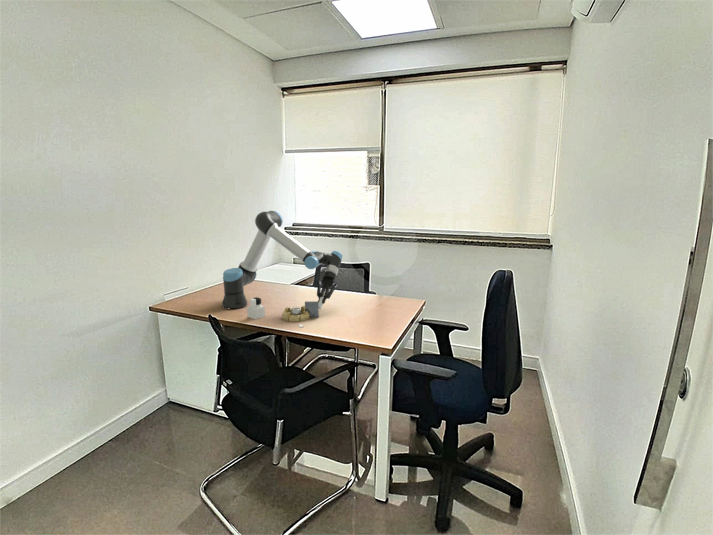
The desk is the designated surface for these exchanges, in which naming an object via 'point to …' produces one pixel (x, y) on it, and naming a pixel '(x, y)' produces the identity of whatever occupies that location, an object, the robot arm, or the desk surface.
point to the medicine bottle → (255, 308)
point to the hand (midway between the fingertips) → (319, 308)
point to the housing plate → (296, 311)
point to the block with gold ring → (302, 312)
